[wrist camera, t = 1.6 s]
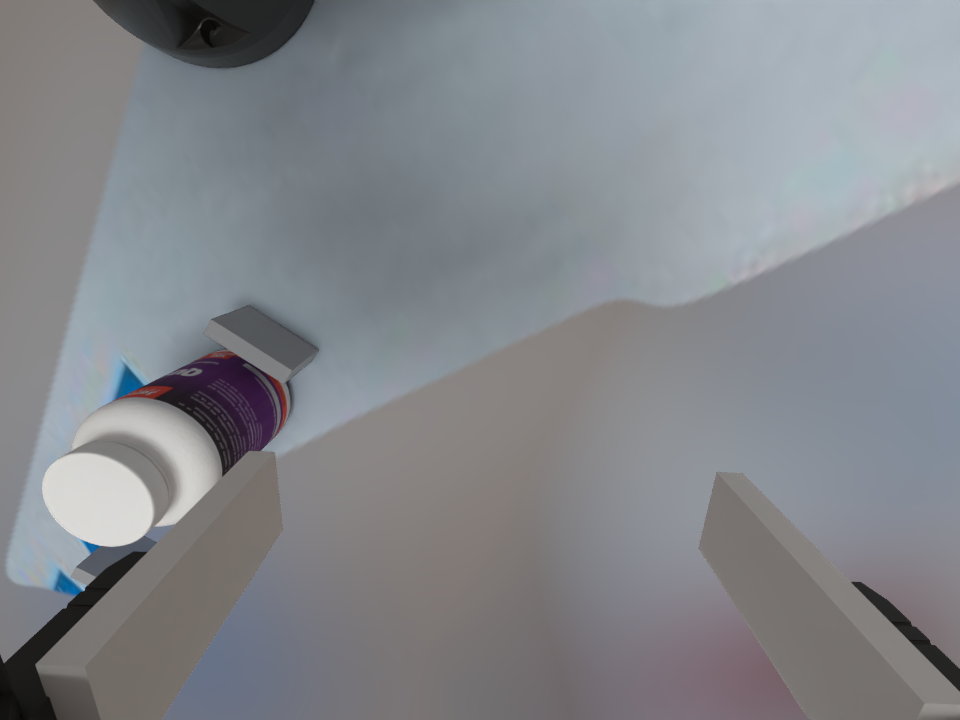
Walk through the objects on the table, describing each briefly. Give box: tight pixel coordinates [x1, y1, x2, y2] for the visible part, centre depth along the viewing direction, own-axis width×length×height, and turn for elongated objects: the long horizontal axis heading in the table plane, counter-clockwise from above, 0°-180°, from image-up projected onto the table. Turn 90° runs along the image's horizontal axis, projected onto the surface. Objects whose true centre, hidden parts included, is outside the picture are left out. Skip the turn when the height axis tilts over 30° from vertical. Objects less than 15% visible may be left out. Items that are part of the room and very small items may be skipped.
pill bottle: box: [42, 349, 290, 547], centre depth 29 cm, size 8×8×14 cm
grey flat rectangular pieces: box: [71, 305, 318, 585], centre depth 35 cm, size 10×26×5 cm, turn 144°
